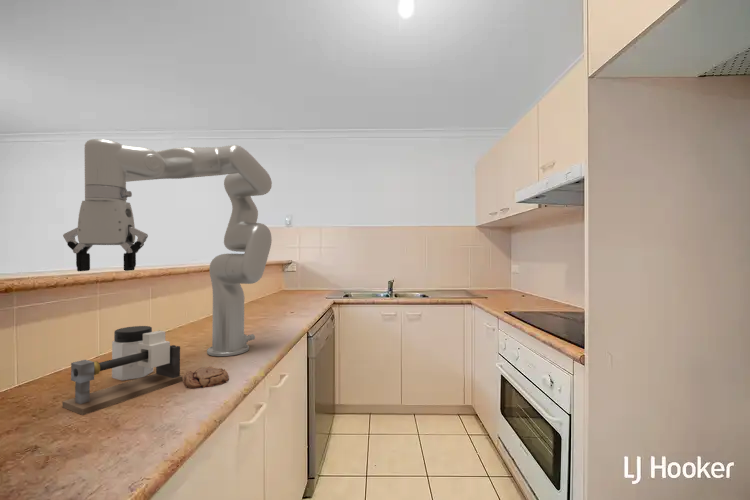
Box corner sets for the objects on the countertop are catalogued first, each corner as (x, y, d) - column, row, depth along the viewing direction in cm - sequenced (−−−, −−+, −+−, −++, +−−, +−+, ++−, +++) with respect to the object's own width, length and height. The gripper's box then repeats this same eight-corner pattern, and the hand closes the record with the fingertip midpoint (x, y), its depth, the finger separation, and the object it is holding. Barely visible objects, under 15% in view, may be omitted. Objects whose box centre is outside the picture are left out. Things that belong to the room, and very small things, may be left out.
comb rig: (162, 375, 92) (162, 339, 92) (182, 380, 88) (182, 343, 88) (62, 407, 73) (62, 361, 73) (82, 415, 69) (83, 367, 69)
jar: (110, 383, 86) (111, 334, 87) (112, 373, 93) (113, 328, 93) (153, 376, 91) (154, 329, 92) (153, 367, 98) (153, 324, 98)
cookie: (222, 388, 84) (222, 376, 84) (175, 390, 83) (175, 377, 83) (234, 374, 94) (234, 363, 94) (191, 376, 92) (192, 364, 92)
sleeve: (156, 360, 89) (156, 329, 89) (169, 363, 87) (170, 331, 87) (137, 365, 85) (138, 333, 85) (151, 368, 83) (151, 335, 83)
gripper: (154, 198, 86) (155, 269, 86) (76, 197, 84) (77, 270, 84) (137, 193, 78) (137, 271, 78) (51, 192, 76) (52, 272, 76)
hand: (106, 270), depth 81 cm, fingers open, 9 cm apart
